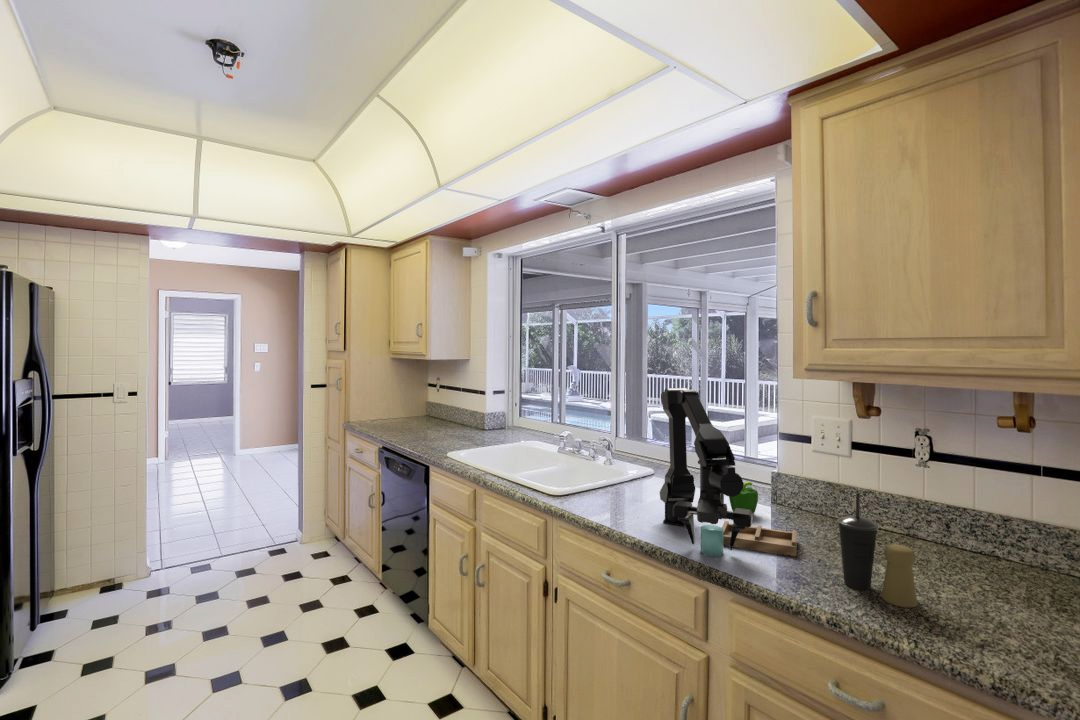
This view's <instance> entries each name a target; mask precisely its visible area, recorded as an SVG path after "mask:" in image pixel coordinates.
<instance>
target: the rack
mask: <svg viewBox="0 0 1080 720" xmlns="http://www.w3.org/2000/svg"><path fill="white" fill-rule="evenodd" d="M732 525H733V523H730V522H729V521H727V520H724V522H723V524H722V527H721V528H723V546H727V547H730V541H731V534H732ZM797 531H798V530H792V531H787V530H780V529H773V528H764V527H762V525H757V526H752V525H751V527H746V528H745V529H740V531H739V533H738V535H737V537H736V540H735V543H734V546H733V548H740V549H744V550H745V549H746V550H751V551H758V552H764V553H769V554H778V555H782V554H784V555H783V556H788V555H791V557H795V556H796V557H797V546H798V545H797V543H798V541H797V540H798V539H797V536H798V535H797V534H798V532H797Z"/></svg>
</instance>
